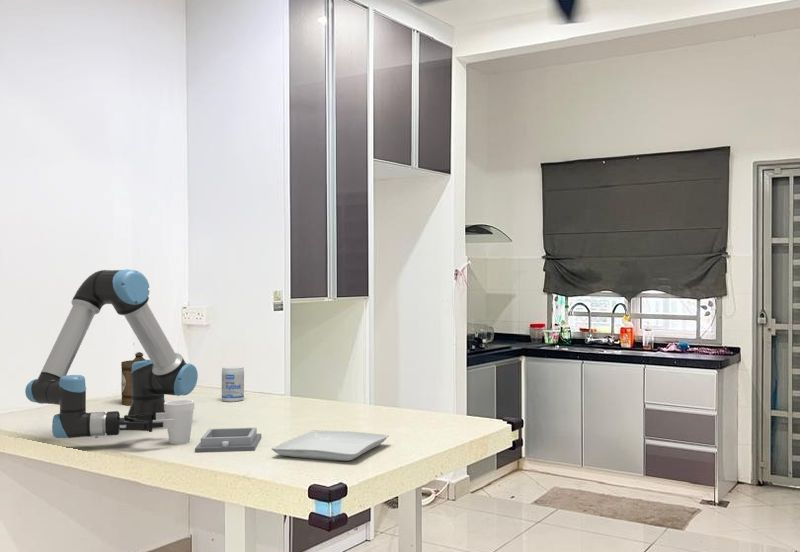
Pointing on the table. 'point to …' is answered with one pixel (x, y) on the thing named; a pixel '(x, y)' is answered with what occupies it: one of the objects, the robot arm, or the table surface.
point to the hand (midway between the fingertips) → (175, 419)
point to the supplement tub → (232, 383)
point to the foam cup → (179, 420)
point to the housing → (229, 440)
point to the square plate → (330, 445)
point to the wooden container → (128, 378)
